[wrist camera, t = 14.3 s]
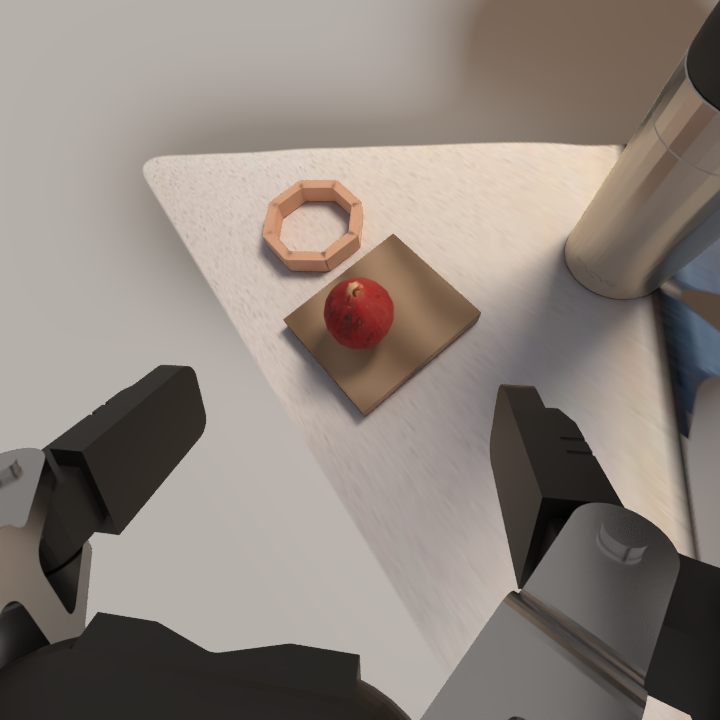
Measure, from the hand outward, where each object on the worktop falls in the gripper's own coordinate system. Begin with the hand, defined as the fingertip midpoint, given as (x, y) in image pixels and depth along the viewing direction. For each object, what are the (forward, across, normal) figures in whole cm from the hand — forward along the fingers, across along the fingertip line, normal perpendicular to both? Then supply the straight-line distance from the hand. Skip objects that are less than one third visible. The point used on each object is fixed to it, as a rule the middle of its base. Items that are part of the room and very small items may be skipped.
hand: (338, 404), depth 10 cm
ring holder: (+34, +10, +1) cm, 35 cm away
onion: (+24, +3, +8) cm, 26 cm away
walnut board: (+26, +2, +8) cm, 28 cm away
